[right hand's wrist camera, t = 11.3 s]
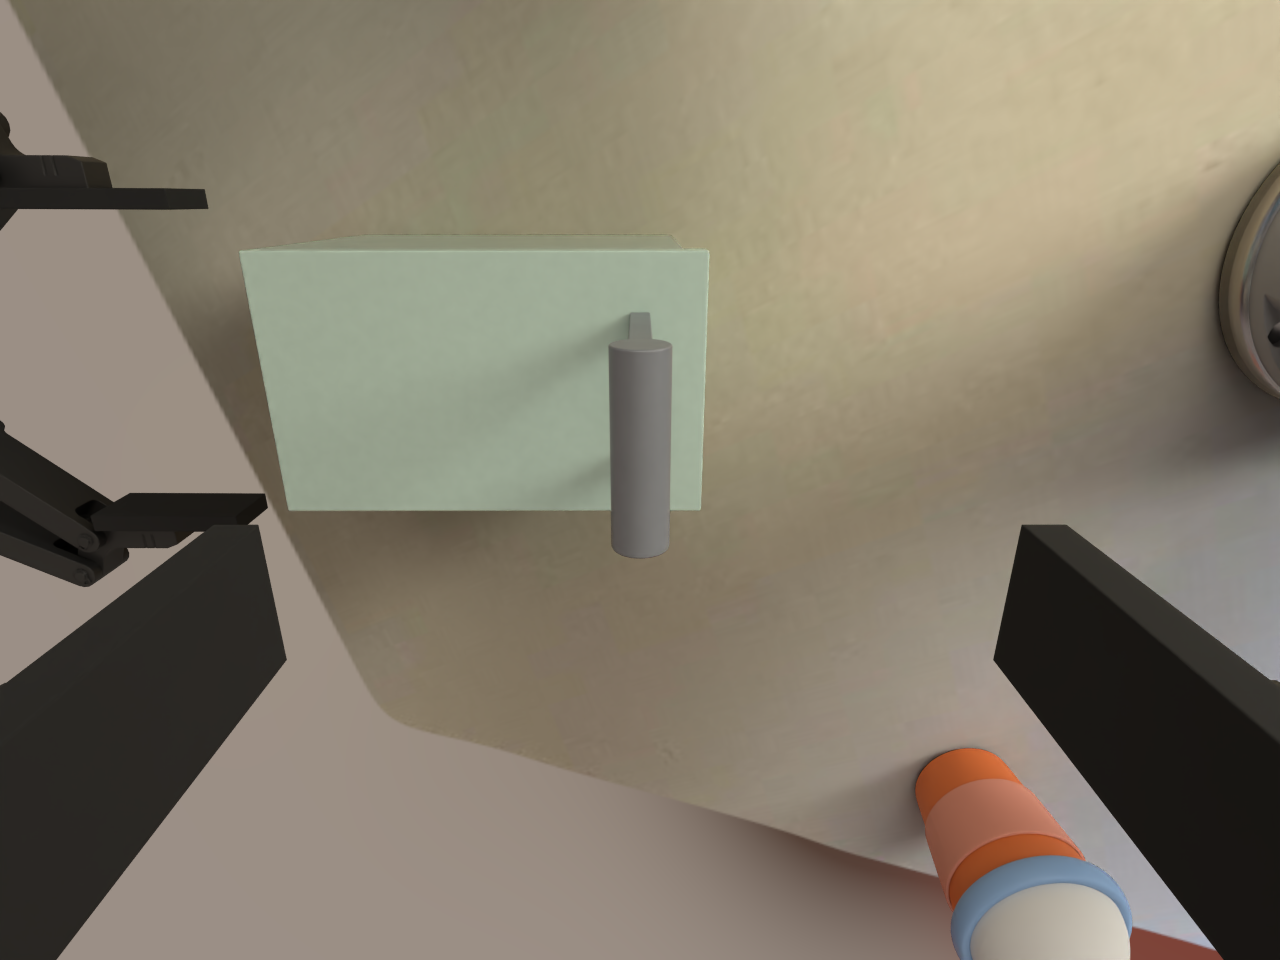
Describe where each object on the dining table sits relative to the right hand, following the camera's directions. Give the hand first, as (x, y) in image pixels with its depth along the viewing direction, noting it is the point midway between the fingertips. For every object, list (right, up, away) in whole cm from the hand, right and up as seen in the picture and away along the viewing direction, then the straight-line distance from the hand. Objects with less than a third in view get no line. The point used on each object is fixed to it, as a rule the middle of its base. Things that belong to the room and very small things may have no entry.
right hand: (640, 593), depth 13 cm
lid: (-6, +6, +14) cm, 16 cm away
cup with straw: (+21, -18, +35) cm, 45 cm away
